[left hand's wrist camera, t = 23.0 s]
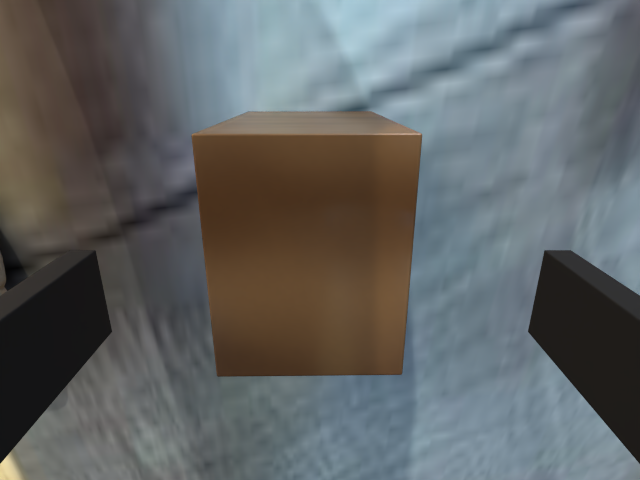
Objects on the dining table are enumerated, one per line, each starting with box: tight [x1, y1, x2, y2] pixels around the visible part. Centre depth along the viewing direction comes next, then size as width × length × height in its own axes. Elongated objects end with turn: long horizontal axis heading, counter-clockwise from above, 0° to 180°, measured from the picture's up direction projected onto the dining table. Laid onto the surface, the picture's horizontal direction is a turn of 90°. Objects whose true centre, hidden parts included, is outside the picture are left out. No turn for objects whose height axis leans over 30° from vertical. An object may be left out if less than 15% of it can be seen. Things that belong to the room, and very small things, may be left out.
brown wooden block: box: [192, 111, 422, 376], centre depth 19 cm, size 9×7×11 cm
